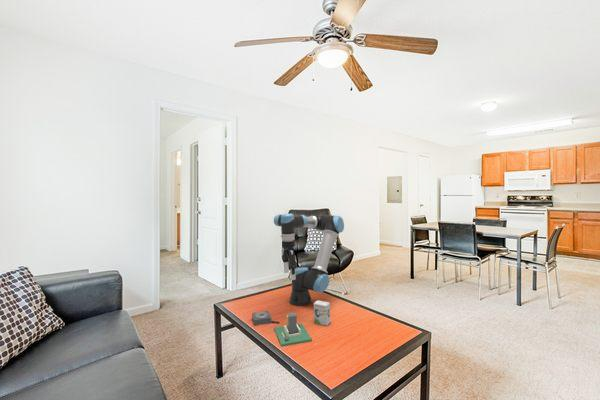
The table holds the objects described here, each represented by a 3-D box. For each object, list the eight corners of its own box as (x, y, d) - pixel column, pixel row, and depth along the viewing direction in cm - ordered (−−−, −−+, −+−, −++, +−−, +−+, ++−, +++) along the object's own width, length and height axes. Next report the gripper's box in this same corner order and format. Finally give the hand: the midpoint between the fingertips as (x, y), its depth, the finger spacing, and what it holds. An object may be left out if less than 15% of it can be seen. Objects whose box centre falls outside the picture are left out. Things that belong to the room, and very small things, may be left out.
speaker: (268, 315, 171) (268, 309, 171) (271, 322, 162) (271, 316, 162) (252, 317, 168) (252, 312, 168) (254, 325, 159) (254, 319, 159)
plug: (294, 330, 150) (294, 312, 150) (296, 334, 146) (296, 315, 146) (286, 332, 149) (286, 313, 148) (288, 335, 145) (288, 316, 145)
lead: (279, 322, 161) (279, 321, 161) (278, 323, 161) (278, 322, 161) (271, 321, 163) (271, 320, 163) (270, 322, 162) (270, 321, 162)
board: (301, 325, 159) (301, 318, 158) (312, 341, 141) (311, 333, 141) (274, 329, 154) (274, 322, 154) (281, 346, 137) (281, 338, 137)
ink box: (330, 322, 161) (330, 302, 161) (327, 326, 157) (327, 305, 156) (317, 319, 165) (316, 299, 165) (313, 323, 161) (313, 302, 160)
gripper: (276, 237, 173) (278, 270, 174) (288, 245, 149) (289, 283, 150) (288, 236, 175) (289, 269, 176) (301, 243, 152) (302, 281, 153)
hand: (289, 276), depth 163 cm, fingers open, 13 cm apart
